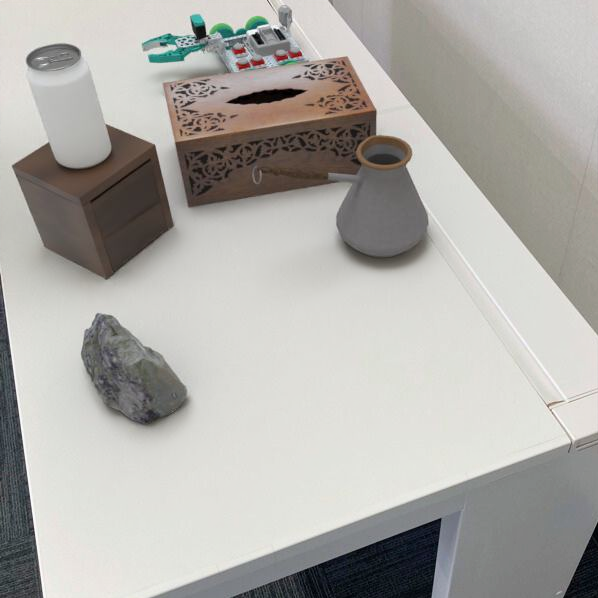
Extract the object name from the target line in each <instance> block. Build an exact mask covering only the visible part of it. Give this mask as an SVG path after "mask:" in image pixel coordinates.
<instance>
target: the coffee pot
mask: <svg viewBox="0 0 598 598" xmlns="http://www.w3.org/2000/svg"><path fill="white" fill-rule="evenodd" d="M356 156H357V158H358V160H359V161H360V162H361V164H362V166H361V168H360V170H359V171H358V173H357V175H348V174H336V173H328V172H323V171H318V170H312V169H306V168H300V167H287V168H281V167H280V166H279V165H276V166H274V167H269V166H267V165H265V166H254V168H253V172H252V176H253V181H254V183H255V184H260V182H261V178H262V173H265V174H268V173H273V174H274V175H275V176H279V175H280V174H281V175H284V176H288V177H292V178H295V179H317V180H327V179H328V180H335V181H339V182H343V183H351V185H350V187H349V189H348V191H347V193H346V195H345V196H344V199H343V201H342V202H341V204H340V206H339V208H338V210H337V213H336V216H335V217H336V218H335V221H336V222H335V224H336V228H337V230H338V232H339V234H340V236H341V237H342V240H344V241H345V242H346V244H347V245H348V246H350V247H352V248H353V249H355V250H356V251H358V252H360V253H362V254H364V255H366V256H370V257H372V258H373V257H374V258H391V257H396V256H398V255H400V254H403V253H404V252H407V251H410V250H411V249H412V248H414V247H415V246H416V245H418V244H419V242H420V241H421V240H422V239H423V237H424V236H425V235H426V233H427V230H428V227H429V223H430V222H429V215H428V212H427V209H426V207H425V204H424V202H423V200H422V199H421V196H420V195H419V192H418V189H417V188H416V185H415V183H414V180H413V179H412V175H411V174H410V172H409V170H408V167H407V165H408V163H409V162H410V161H411V159H412V157H413V150H412V147H411V145H410V144H409V143H408V142H407V141H405V140H403V139H402V138H400V137H396V136H392V135H382V134H378V135H377V134H376V135H372V136H370V137H368V138H367V139H365V140H364V141H363V142H361V143H360V145H359V146H358V148H357V150H356ZM256 167H257V171H258V172H260V179H259V182H258V183H256V182H255V178H254V171H255V168H256Z"/></svg>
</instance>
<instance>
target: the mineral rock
mask: <svg viewBox="0 0 598 598" xmlns="http://www.w3.org/2000/svg"><path fill="white" fill-rule="evenodd" d="M80 352H81V353H80V358H81V360H82V362H83V365H84V367H85V372H86V373H87V374H88V375H89V376H91V377H90V382H91V383H93V387H94V388H95V390H97V393H98V395H99V396H100V397H102V400H103V403H104V404H105V405H106V406H107V407H109V408H113V409H115V410H117V411H120V412H122V413H123V414H124V415H125V416H126V417H128V418H129V419H131V420H132V421H135V422H139V423H141V424H142V425H147V424H150V423H151V422H153V421H154V420H155V419H159V418H162V417H163V418H164V417H166V416H168V415H170V414H172V413H173V412H172V411H174V410H175V411H176V410H177V409H179V407H180V406H181V405H182V404H183V403H184V402H185V400H187V399H186V398H187V394H188V389H187V386H186V385H185V384H184V383H183V382H182V381H181V379H180V378H179V376H178V375H177V374H176V373H175V371H174V370H173V369H172V368H171V366H170V365H169V363H167V361H166V359H165V357H164V356H163V354H162V353H160V352H158V351H155V350H154V349H152V348H151V347H149V346H145V345H144V344H142V342H141V341H140V339H138V338H137V337H136V336H135V335H134V334H132V332H131V331H130V330H129V329H127V328H126V327H124V326H123V325H122V324H121V323H120V322H119V320H118V319H117V318H116V317H115V316H113V314H106V313H101V312H97V313H95V316H94V319H93V320H92V321H91V326H90V327H89V328H86V329H85V330H84V333H83V342H82V346H81V350H80ZM175 411H174V412H175ZM171 412H172V413H171ZM169 413H170V414H169ZM165 415H166V416H165ZM152 420H153V421H152ZM149 422H150V423H149ZM146 423H147V424H146Z"/></svg>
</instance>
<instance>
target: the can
mask: <svg viewBox="0 0 598 598" xmlns="http://www.w3.org/2000/svg"><path fill="white" fill-rule="evenodd" d="M25 64H26V66H27V67H26V78H27V82H28V85H29V88H30V91H31V94H32V97H33V99H34V102H35V105H36V108H37V111H38V114H39V118H40V120H41V123H42V126H43V129H44V132H45V135H46V137H47V139H48V142H49V143H50V146H51V149H52V151H53V154H54V157H55V159H56V160H57V162H58V163H60V164H61V165H63V166H65V167H67V168H71V169H86V168H90V167H94V166H96V165H98V164H100V163H102V162H103V161H104V160H106V159H107V157H108V156H109V154H110V152H111V143H110V139H109V135H108V131H107V128H106V124H107V123H106V121H105V117H104V114H103V110H102V107H101V102H100V100H99V96H98V92H97V88H96V85H95V81H94V78H93V74H92V70H91V68H90V65H89V63H88V61H87V59H85V57H84V56H83V55H82V51H81V49H80V48H79V47H77V46H76V45H74V44H70V43H64V42H62V43H61V42H58V43H49V44H45V45H41V46H39V47H37V48H35V49H33V50H32V51H30V52H29V53H28V54H27V56H26V57H25Z"/></svg>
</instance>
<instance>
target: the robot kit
mask: <svg viewBox="0 0 598 598" xmlns="http://www.w3.org/2000/svg"><path fill="white" fill-rule="evenodd" d="M277 13H278V22H279V23H280V25H279V26H278V24H273V25H270V23H269V21H268V20H267V19H266V17H264V16H260V15H255V16H252V17H250V18H249V19H248V20H247V21H246V23H245V27H244V28H243V27H240V28H238V29H236V30H234V29H233V27H232V26H230V25H229V24H228V23H224V22H219V23H216V24H214V25H213V26H212V27H211V29H210V30H209V33H208V34H207V28H206V22H205V20H204V18H203V17H202V15H201V14H199V13H196V14H191V15H190V16H189V19H190V24H191V29H192V32H193V34H185V35H182V36H181V35H173V34H172V33H170V32H169V33H165V34H162V35H160V36H156V37H154V38H151V39H148V40H146V41H144V42H142V43H141V48H142V51H143V52H144V53H145V52H148V51H151V50H153V49H156V48H157V49H158V48H168V47H169V45H171V46H175V50H174V49H169V50H167V51H165V52H161V53H150V54H149V53H148V54H147V58H148V63H151V64H166V63H178V62H185V58H186V57H187V56H189V55H190V54H191V53H196V52H199V51H201V52H202V54H203V55H204V54H205V53H207V54H210V53H215V52H217V54H218V55H219V56H220V58H221V59H222V61H223V63H224V64H225V66H226V68H227V69H228V71H229V73H234V72H241V71H248V70H255V69H262V68H269V67H276V66H283V65H290V64H297V63H304V62H310V59H309V57H307V56H306V54H305V52H304V51H303V50H302V49H301V48H300V47H299V45H298V44H297V43H296V41H295V40H294V38H293V37H292V32H291V27H292V23H293V11H292V9H291V7H290V6H288V5H287V4H283V5H281V6H280V7H279V8H278V9H277ZM234 31H235V32H234Z"/></svg>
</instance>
